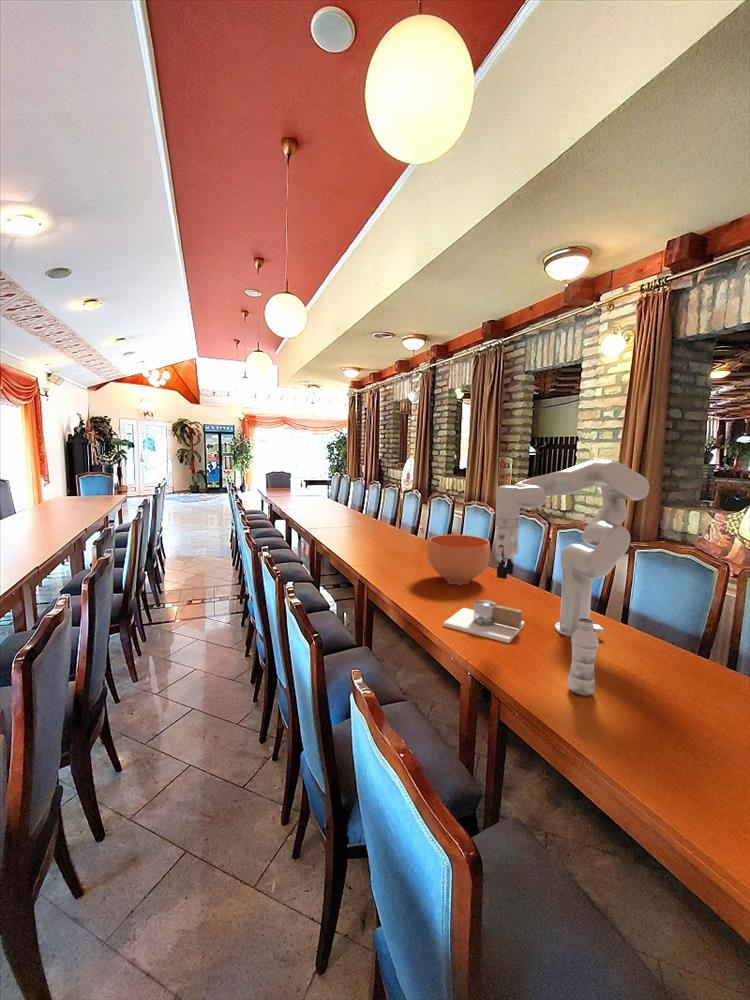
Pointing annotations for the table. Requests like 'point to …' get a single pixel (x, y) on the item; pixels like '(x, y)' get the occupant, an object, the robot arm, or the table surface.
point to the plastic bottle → (583, 658)
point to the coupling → (496, 614)
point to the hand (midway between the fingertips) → (504, 575)
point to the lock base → (481, 626)
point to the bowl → (458, 557)
